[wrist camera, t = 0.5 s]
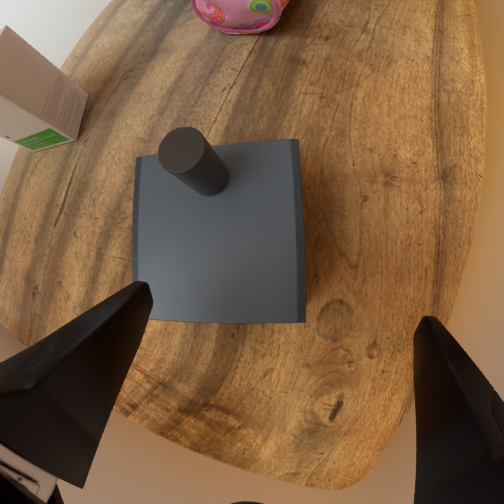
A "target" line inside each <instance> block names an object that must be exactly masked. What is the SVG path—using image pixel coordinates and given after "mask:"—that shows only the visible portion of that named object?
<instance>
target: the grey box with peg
mask: <svg viewBox="0 0 504 504" xmlns="http://www.w3.org/2000/svg"><path fill="white" fill-rule="evenodd" d="M132 274H133V282H135V281H143V282H147V283H148V284H149V286H150V290H151V293H152V297H153V308H152V311H151V314H150V317H149V320H164V321H183V322H208V323H306V285H305V246H304V221H303V200H302V183H301V168H300V154H299V141H298V139H289V140H271V141H257V142H245V143H234V144H224V145H215V146H211V145H210V144H209V143H208V141H207V140H206V139H205V137H204V136H203V135H202V133H201V132H200V131H198V130H197V129H195V128H192V127H180V128H177V129H174V130H173V131H171V132H170V133H168V134H167V135H166V136H165V137H164V139H163V140H162V142H161V144H160V146H159V150H158V154H153V155H147V156H142V157H137V158H136V169H135V183H134V200H133V228H132Z"/></svg>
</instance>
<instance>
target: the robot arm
mask: <svg viewBox="0 0 504 504" xmlns="http://www.w3.org/2000/svg"><path fill="white" fill-rule="evenodd" d="M152 308H153V297H152V293H151V290H150V286H149V284H148V283H147V282H143V281H135V282H133V283H131V284H130V285H128V286H127V287H125V288H123V289H122V290H120V291H118V292H117V293H115V294H113V295H112V296H110V297H109V298H107V299H105V300H104V301H102V302H100V303H99V304H97V305H96V306H94V307H92V308H91V309H89V310H88V311H86V312H84V313H83V314H81V315H80V316H78V317H77V318H75V319H73V320H72V321H70V322H69V323H67V324H65V325H64V326H62V327H61V328H59V329H58V330H57V331H55V332H53V333H51V334H50V335H48V336H47V337H45V338H44V339H42V340H40V341H39V342H37V343H35V344H34V345H32V346H30V347H28V348H27V349H25V350H23V351H21V352H20V353H18V354H16V355H14V356H12V357H10V358H8V359H7V360H5V361H3V362H1V363H0V504H64V502H63V500H62V497H61V494H60V492H59V489H58V486H57V484H56V483H57V480H58V478H60V479H62V480H64V481H66V482H68V483H70V484H72V485H74V486H77V487H79V488H81V489H82V488H83V487H84V485H85V481H86V479H87V476H88V473H89V470H90V467H91V464H92V461H93V459H94V456H95V453H96V450H97V448H98V445H99V442H100V439H101V437H102V434H103V432H104V429H105V426H106V424H107V421H108V419H109V416H110V413H111V411H112V409H113V406H114V404H115V401H116V399H117V397H118V394H119V392H120V389H121V387H122V385H123V382H124V380H125V378H126V375H127V373H128V371H129V368H130V366H131V364H132V362H133V359H134V357H135V355H136V353H137V350H138V348H139V346H140V343H141V340H142V338H143V335H144V332H145V329H146V326H147V323H148V320H149V317H150V314H151V311H152ZM413 350H414V372H413V376H414V394H415V409H416V448H417V449H416V481H415V494H414V504H504V402H503V400H502V399H501V398H500V396H499V395H498V393H497V392H496V391H494V388H493V387H492V386H491V384H490V383H489V381H488V380H487V379H486V377H485V376H484V375H483V373H482V372H481V371H480V370H479V368H478V367H477V366H476V364H475V363H474V362H473V361H472V359H471V358H470V357H469V356H468V354H467V353H466V352H465V351H464V349H463V348H462V347H461V346H460V345H459V343H458V342H457V341H456V340H455V339H454V337H453V336H452V335H451V334H450V333H449V332H448V330H447V329H446V328H445V327H444V326H443V325H442V323H441V322H440V321H439V320H438V319H437V318H436V317H435V316H424V317H423V318H422V319H421V321H420V323H419V325H418V327H417V329H416V331H415V333H414V337H413Z"/></svg>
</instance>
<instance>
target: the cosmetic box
mask: <svg viewBox="0 0 504 504" xmlns="http://www.w3.org/2000/svg"><path fill="white" fill-rule="evenodd" d="M87 99H88V94H87V93H86V92H85V91H84V90H83V89H81V88H80V87H79V86H78V85H77V84H76V83H74V82H73V81H72V80H71V79H70V78H69V77H67V76H66V75H65V74H64V73H63V72H61V71H60V70H59V69H58V68H57V67H56V66H54V65H53V64H52V63H51V62H50V61H48V60H47V59H46V58H45V57H44V56H42V55H41V54H40V53H39V52H38V51H36V50H35V49H34V48H33V47H32V46H31V45H29V44H28V43H27V42H26V41H25V40H24V39H22V38H21V37H20V36H19V35H18V34H16V33H15V32H14V31H13V30H12V29H10V28H9V27H8V26H5V27H3V28H2V29H1V30H0V136H1V137H3V138H5V139H7V140H9V141H11V142H13V143H15V144H17V145H20V146H22V147H24V148H26V149H28V150H30V151H32V152H37V151H40V150H44V149H47V148H51V147H54V146H58V145H61V144H65V143H69V142H73V141H76V140H77V138H78V133H79V129H80V125H81V121H82V117H83V113H84V109H85V106H86V102H87Z"/></svg>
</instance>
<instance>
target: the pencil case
mask: <svg viewBox="0 0 504 504" xmlns="http://www.w3.org/2000/svg"><path fill="white" fill-rule="evenodd" d="M190 2H191V6H192V8H193V10H194V12H195V13H196V15H197V16H198V17H199V18H200V19H201V20H202V21H204V22H205V23H207V24H208V25H210V26H212V27H214V28H216V29H218V30H220V31H222V32H224V33H227V34H251V33H259V32H263V31H265V30H268V29H270V28H272V27H273V26H274V25H275V24H276V23H277V22H278V21H279V19H280V17H281V12H282V10H283V9H284V8H285V7H286V5H287V3H288V2H289V0H190Z"/></svg>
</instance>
